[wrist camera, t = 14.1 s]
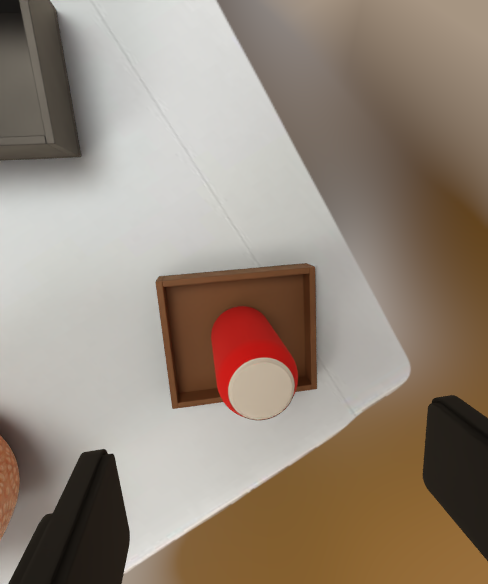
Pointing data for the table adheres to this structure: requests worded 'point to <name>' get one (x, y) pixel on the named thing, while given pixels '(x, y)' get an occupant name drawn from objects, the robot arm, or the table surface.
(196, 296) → the tray
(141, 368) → the table surface
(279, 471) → the table surface
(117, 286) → the table surface
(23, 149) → the bin
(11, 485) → the planter
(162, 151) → the table surface
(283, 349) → the beverage can
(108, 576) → the robot arm
